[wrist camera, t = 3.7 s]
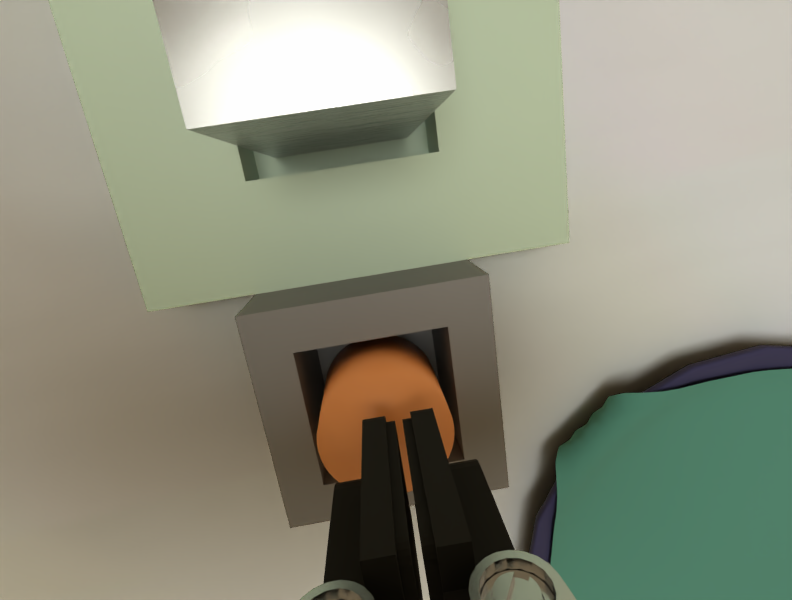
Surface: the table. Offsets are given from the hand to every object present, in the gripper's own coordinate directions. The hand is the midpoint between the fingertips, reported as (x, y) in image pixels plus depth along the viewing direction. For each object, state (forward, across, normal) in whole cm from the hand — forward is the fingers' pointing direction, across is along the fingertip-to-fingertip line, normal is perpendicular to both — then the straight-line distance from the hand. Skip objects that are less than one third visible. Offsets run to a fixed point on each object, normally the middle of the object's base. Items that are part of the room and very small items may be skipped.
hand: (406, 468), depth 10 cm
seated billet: (+7, 0, -10) cm, 12 cm away
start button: (+4, 0, 0) cm, 4 cm away
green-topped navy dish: (+9, -19, +12) cm, 25 cm away
